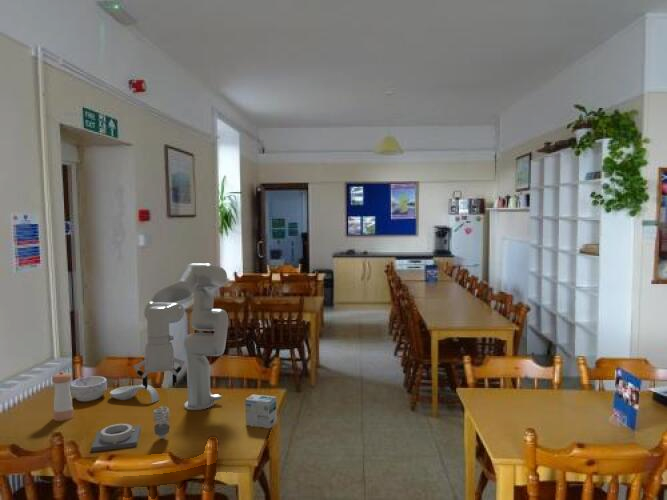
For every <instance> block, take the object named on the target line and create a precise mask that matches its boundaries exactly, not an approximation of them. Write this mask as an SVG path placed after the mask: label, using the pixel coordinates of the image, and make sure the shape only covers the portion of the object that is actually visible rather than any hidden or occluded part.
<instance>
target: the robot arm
mask: <svg viewBox="0 0 667 500" xmlns="http://www.w3.org/2000/svg"><path fill="white" fill-rule="evenodd" d="M227 281H228V273H227V271H226V270H225V269H224V268H223V267H221V266H219V265H216V264H212V263H208V262H207V263H193V262H192V263H188V264H186V265H185V266H184V267H183V268H182V270H181V271H180V272H179V274H178V276H177V277H176V279H175V280H174V281H173V283H171V284H169V285H167V286H165V287H163V288H162V289H160V290H158V291H156V292H155V293H154V294H153V295H152V296H151V297H150V299H149V300H148V301H147V304H146V306H145V307H144V312H143V313H144V318H145V320H146V322H147V324H146V326H147V327H146V328H147V343H146V344H145V348H144V360H142V361H140V362H138V363H137V364H135V365H134V366H133V368H134V370H135V372H136V373H137V375H139V377H141V378H142V384H143V386H145V389H144V390H146V389H147V386H148V385H149V384H148V376H147V375H148V374H150V373H159V372H160V373H161V372H170V373H172V378H171V379H172V387H175V386H176V384H177V383H178V380H177V376H178V374H179V372H181V370H182V368H183V366H184V365H185V361H183V360H181V359H178V358H177V357H175V356H174V348H173V347H174V346H173V342H171V341H173V340H175V339H174V337H175V336H174V335H172V336H171V335H170V324H175V323H178V322H180V321H181V320H182V319H183V318H184V315H185V309H184V306H183V305H182V304H181V303H177V302H180V301H181V302H182V301H184V300H187V299H189V298H190V297H191V296H192V294H193V298H194V299H193V306H192V313H191V320H190V321H191V322H190V324H191V328H192V329H194V330H195V331H206V332H207V331H209V332H210V333H206V332H193V333H189V334H188V335H186V337H184V340H183V350H184V354H185V357H186V358H185V360H186V374H187V375H186V379H187V380H186V381H187V401H186V402H185V403H183V404H184V406H183V407H184V408H185V409H186V410H189V411H203V409H204V410H207V409H206V408H208V409H210V408H212V407H213V406H214V405H215V401H222V395H219V394H212V391H211V371H210V369H211V366H210V361H209V360H208V357H219V356H222V355H223V354H224V352H225V349H226V344H227V337H228V336H227V335H228V329H229V328H228V327H229V316H228V315H229V314H228V313H227V311H226V310H225V309H222V308H214V302H215V298H214V295H213V293H212V292H211V290H210V289H209V288H223V287H224V286H225V285H226V283H227ZM211 331H213V333H211ZM175 364H178V367H177V368H175ZM142 366H143V367H144V371H143V370H141V369H140V367H142ZM211 406H212V407H211ZM209 407H210V408H209Z"/></svg>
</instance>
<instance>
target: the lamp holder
mask: <svg viewBox="0 0 667 500" xmlns="http://www.w3.org/2000/svg"><path fill="white" fill-rule="evenodd" d="M140 433H141V425H134V426H132V425H131V424H129V423H116V424H115V423H114V424H112V425H108V426H106V427H105V428H104V427H103V429H101V430H99V429H98V430H97V433H96V435H95V437H94V439H93V442H92V445H91V447H90V449H91V453H92V452H93V453H94V452H100V451H109V450H116V449H123V448H124V449H125V448H131V447H132V448H133V447H137V446H138V444H139V438H140Z"/></svg>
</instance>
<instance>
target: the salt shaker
mask: <svg viewBox="0 0 667 500" xmlns="http://www.w3.org/2000/svg"><path fill="white" fill-rule="evenodd" d="M71 380H72V375H71V374H70V373H69V372H64V371H62V370H61V371H59V373H56V374H54V375H53V376H52V378H51V381H52V383H53V384H54V396H53V397H54V398H53V407H54V408H53V412H52V413H53V415H52V416H53V420H54V421H56V422H57V421H58V422H62V421H68V420H70V419H72V418H73V417H74V407H73V398H72V397H73V396H71V393H70V383H71V382H70V381H71Z"/></svg>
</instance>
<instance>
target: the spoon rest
mask: <svg viewBox="0 0 667 500" xmlns="http://www.w3.org/2000/svg"><path fill="white" fill-rule="evenodd" d="M141 389H144V390H146V391H147V392H148V393H149V396H150V402H151V404H154V403H156V402H158V401H160V396H159V393H158V391H157V390H156V388H154V387H153V386H151V385H150V384H148V386H147V389H145V386H143V383H142V384H139V385H127V386H126V385H125V386H120V387H117V388H115V389H112V390H110V392H109V395H110V396H111V397H112V398H113V399H115V400H119V401H126V400H130V399H132V398H133V397H134V396H135V395H136V394H137V393H138V391H140V390H141Z"/></svg>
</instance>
